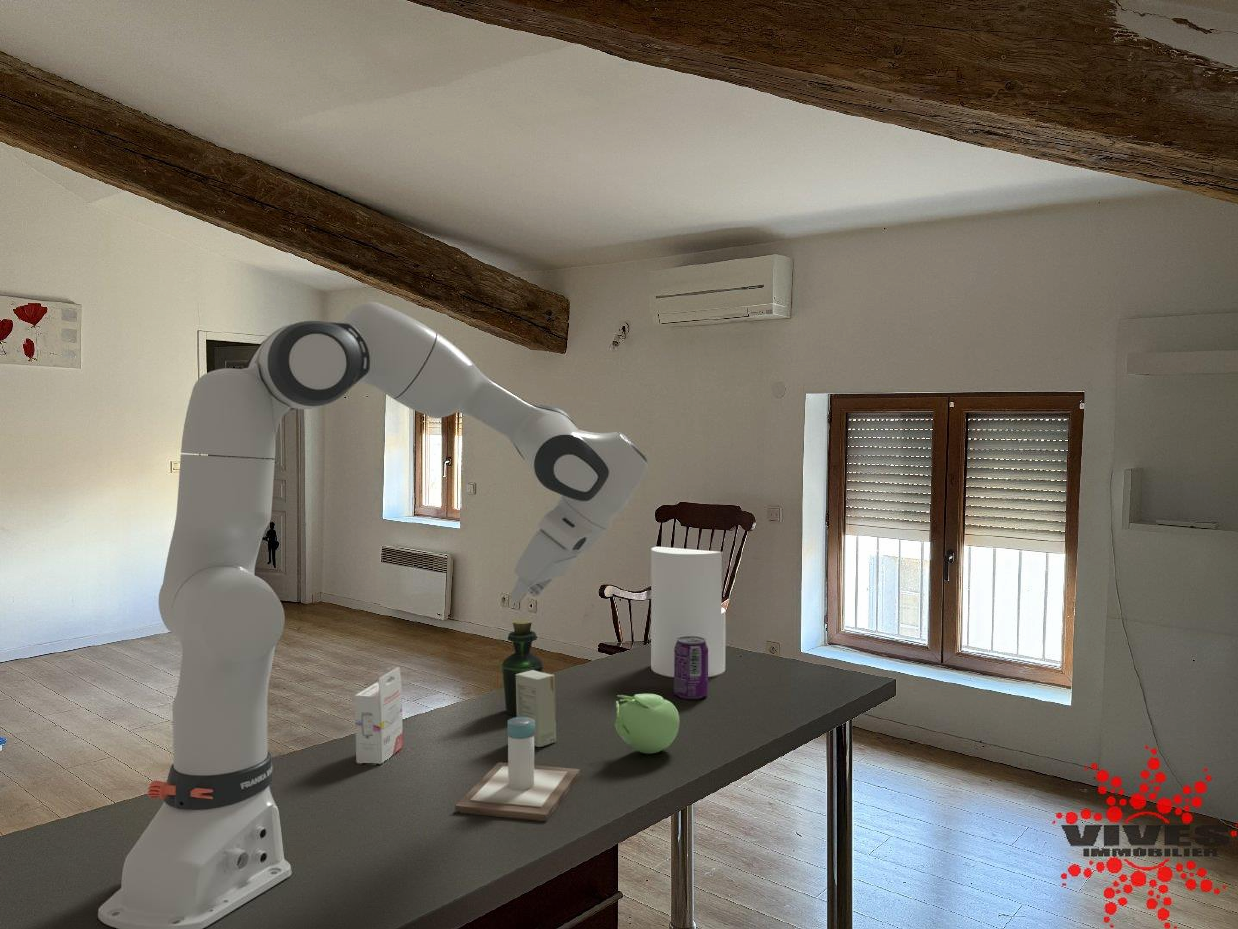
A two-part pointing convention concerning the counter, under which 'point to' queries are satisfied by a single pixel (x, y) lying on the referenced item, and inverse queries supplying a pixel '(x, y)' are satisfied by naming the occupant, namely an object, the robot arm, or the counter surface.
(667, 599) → the cylinder
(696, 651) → the beverage can
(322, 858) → the counter surface
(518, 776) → the white bottle teal cap
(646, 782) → the counter surface
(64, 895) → the counter surface
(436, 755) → the counter surface
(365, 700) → the ink cartridge box
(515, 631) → the potion bottle
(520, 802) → the writing board
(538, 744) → the skincare box
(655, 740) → the green eggplant
